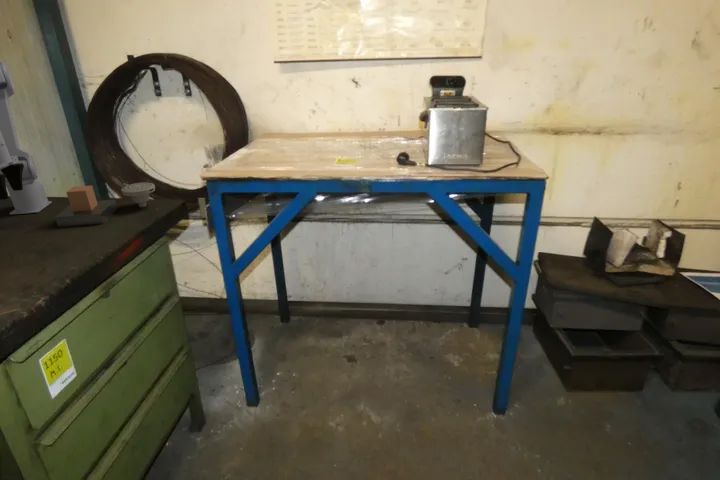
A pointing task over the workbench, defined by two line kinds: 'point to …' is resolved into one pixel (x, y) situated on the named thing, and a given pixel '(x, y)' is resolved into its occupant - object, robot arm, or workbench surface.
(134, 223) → the workbench surface
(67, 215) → the steel base
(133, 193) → the showerhead
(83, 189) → the terracotta block
